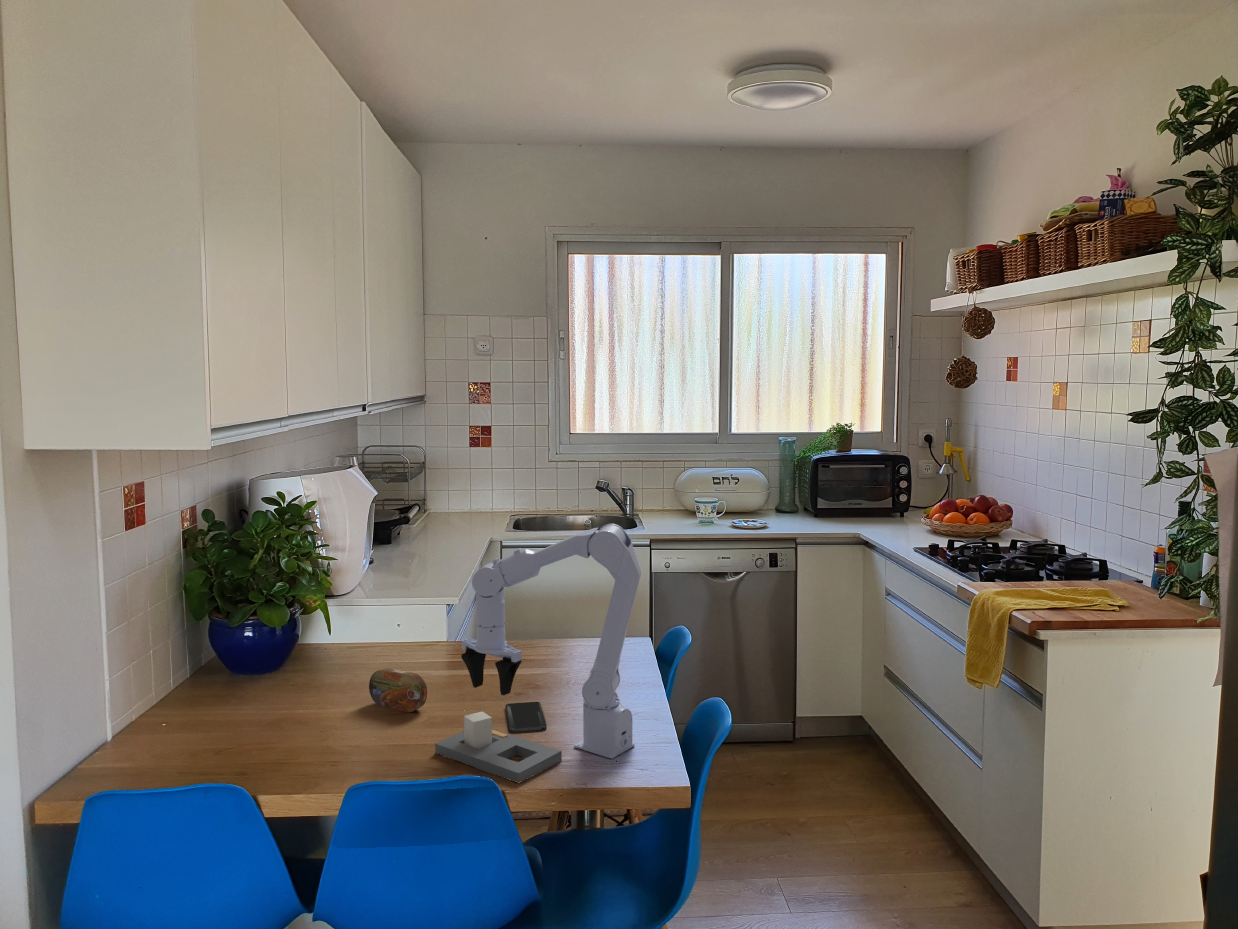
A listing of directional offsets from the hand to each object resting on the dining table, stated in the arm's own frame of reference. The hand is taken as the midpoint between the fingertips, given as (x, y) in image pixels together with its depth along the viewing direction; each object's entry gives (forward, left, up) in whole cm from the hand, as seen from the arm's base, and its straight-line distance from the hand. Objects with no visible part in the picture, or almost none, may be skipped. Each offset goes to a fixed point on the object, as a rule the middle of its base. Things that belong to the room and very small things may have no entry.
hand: (491, 690), depth 179 cm
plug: (-2, +6, -10) cm, 12 cm away
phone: (+2, -13, -11) cm, 17 cm away
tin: (+29, -1, -11) cm, 31 cm away
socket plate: (-7, +5, -10) cm, 14 cm away
